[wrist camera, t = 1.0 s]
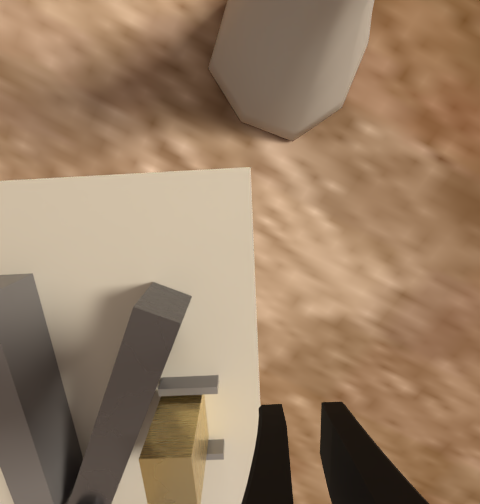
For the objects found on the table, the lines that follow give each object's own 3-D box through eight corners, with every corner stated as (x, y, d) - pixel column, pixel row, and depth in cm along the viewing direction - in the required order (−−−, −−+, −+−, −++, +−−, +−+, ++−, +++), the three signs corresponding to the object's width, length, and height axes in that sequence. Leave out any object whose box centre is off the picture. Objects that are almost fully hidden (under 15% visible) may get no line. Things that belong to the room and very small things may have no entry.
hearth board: (263, 491, 22) (268, 563, 18) (8, 499, 22) (-44, 573, 18) (249, 167, 15) (252, 165, 11) (-113, 187, 16) (-237, 192, 11)
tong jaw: (120, 479, 20) (95, 545, 16) (88, 470, 20) (56, 534, 16) (192, 296, 16) (178, 330, 12) (153, 281, 16) (128, 313, 12)
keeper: (208, 436, 19) (199, 516, 14) (171, 438, 19) (150, 518, 14) (203, 387, 18) (191, 457, 13) (163, 388, 18) (138, 459, 13)
